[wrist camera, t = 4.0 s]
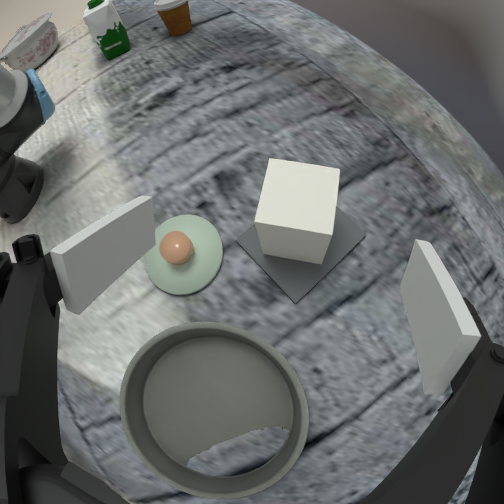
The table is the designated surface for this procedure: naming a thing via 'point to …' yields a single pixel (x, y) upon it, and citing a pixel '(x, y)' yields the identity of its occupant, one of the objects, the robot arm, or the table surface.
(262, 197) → the white upright block
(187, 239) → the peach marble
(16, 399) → the robot arm
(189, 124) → the table surface
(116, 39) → the milk carton
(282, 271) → the mat
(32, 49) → the chamber pot
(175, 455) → the hoop
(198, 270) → the plate
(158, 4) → the disposable coffee cup
